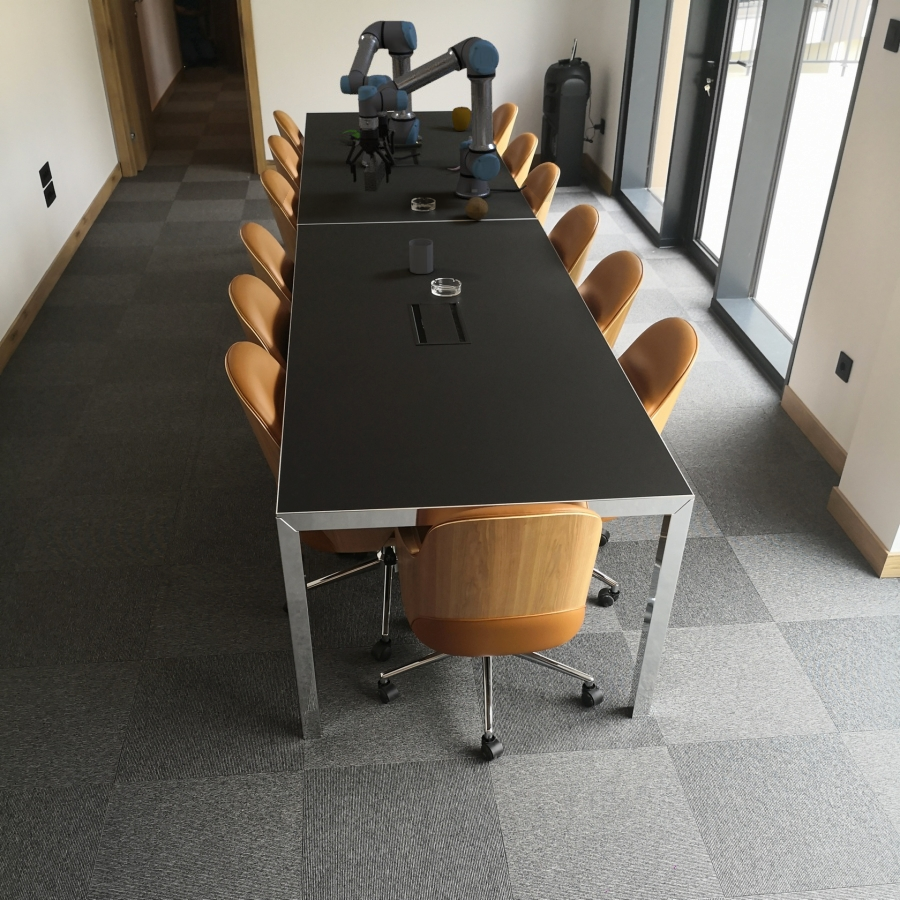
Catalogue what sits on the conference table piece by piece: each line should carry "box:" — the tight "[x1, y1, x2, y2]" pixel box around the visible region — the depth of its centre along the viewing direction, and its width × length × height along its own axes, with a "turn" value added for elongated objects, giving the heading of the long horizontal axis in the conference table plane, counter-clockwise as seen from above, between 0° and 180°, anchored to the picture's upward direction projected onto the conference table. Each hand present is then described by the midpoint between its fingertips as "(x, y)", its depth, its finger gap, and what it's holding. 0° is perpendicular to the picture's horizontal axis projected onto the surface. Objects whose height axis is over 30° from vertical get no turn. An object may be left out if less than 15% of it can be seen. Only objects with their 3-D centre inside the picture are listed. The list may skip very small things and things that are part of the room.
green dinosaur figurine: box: [340, 129, 360, 146], centre depth 465 cm, size 6×13×30 cm
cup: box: [408, 237, 434, 275], centre depth 305 cm, size 8×8×10 cm
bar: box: [363, 151, 387, 193], centre depth 368 cm, size 34×5×8 cm, turn 176°
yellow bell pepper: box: [451, 105, 472, 132], centre depth 487 cm, size 11×11×13 cm
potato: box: [464, 197, 489, 220], centre depth 355 cm, size 10×14×8 cm
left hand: (381, 170), depth 381 cm, fingers closed on bar, 5 cm apart
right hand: (371, 181), depth 357 cm, fingers open, 13 cm apart
